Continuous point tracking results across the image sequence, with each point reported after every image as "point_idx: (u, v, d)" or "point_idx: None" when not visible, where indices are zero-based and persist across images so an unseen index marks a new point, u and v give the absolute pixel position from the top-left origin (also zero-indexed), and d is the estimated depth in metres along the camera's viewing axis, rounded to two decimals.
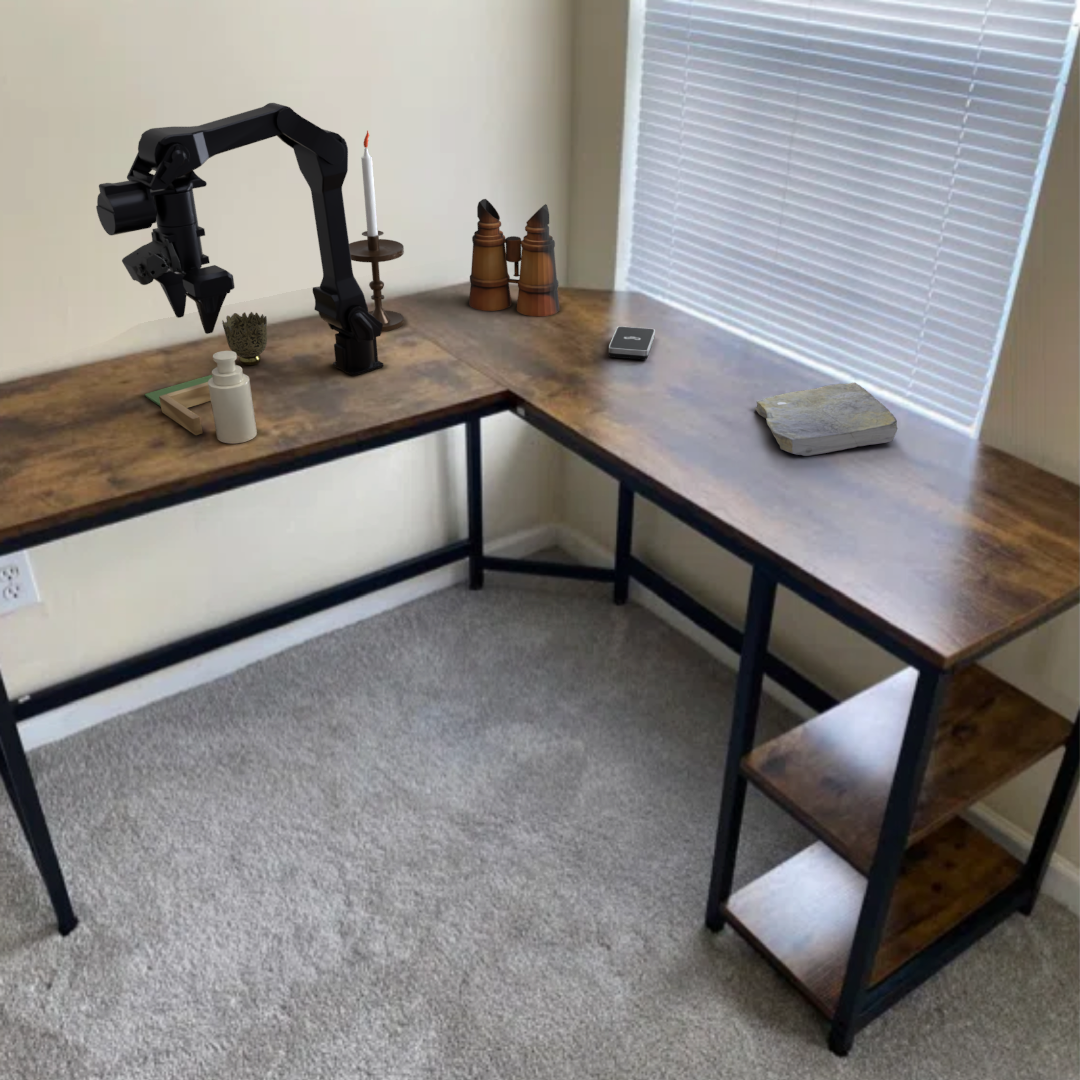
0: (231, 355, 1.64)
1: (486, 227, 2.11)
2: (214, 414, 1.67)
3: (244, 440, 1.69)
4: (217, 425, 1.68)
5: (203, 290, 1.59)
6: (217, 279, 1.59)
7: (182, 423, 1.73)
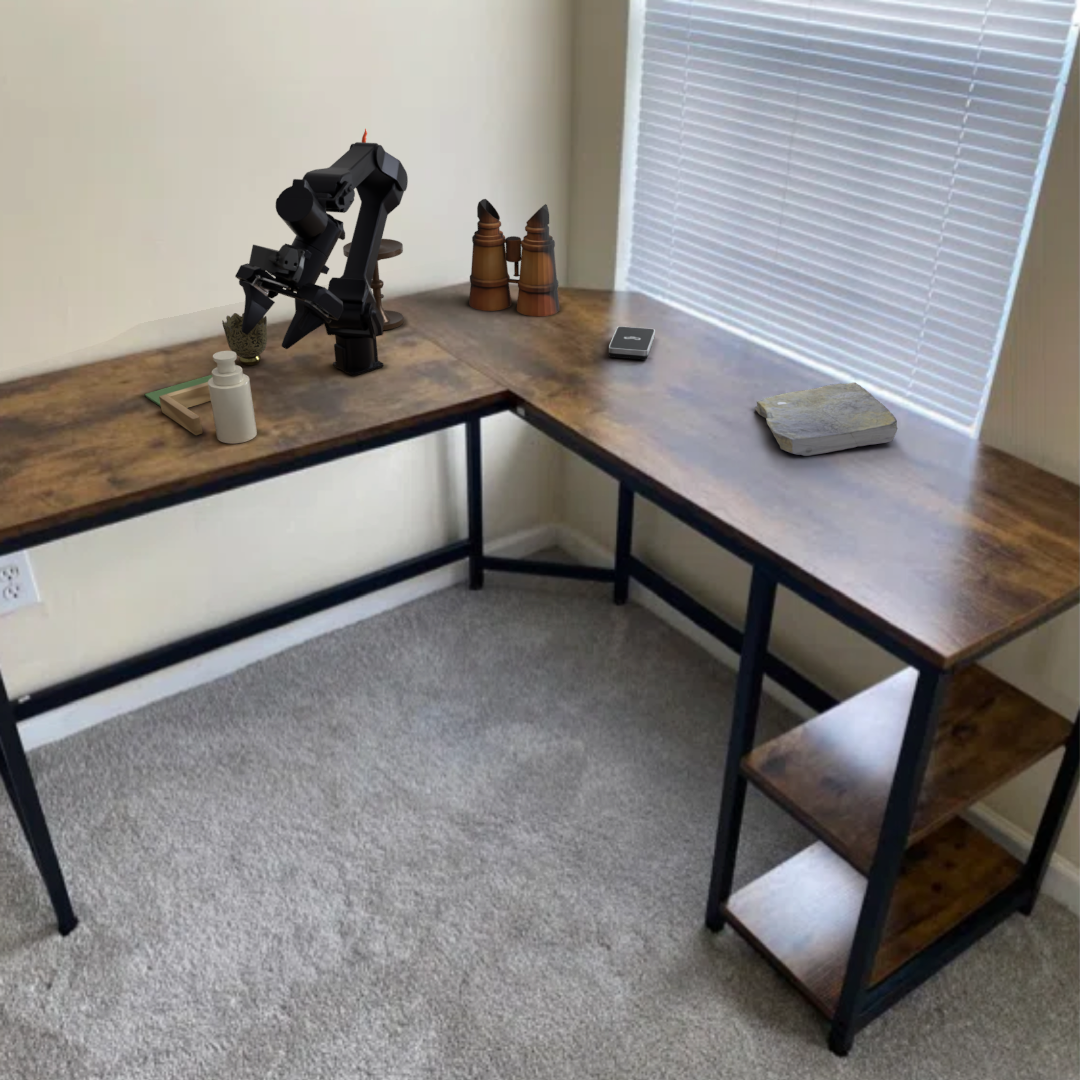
0: (231, 355, 1.64)
1: (486, 227, 2.11)
2: (214, 414, 1.67)
3: (244, 440, 1.69)
4: (217, 425, 1.68)
5: (322, 300, 1.64)
6: (335, 301, 1.66)
7: (182, 423, 1.73)
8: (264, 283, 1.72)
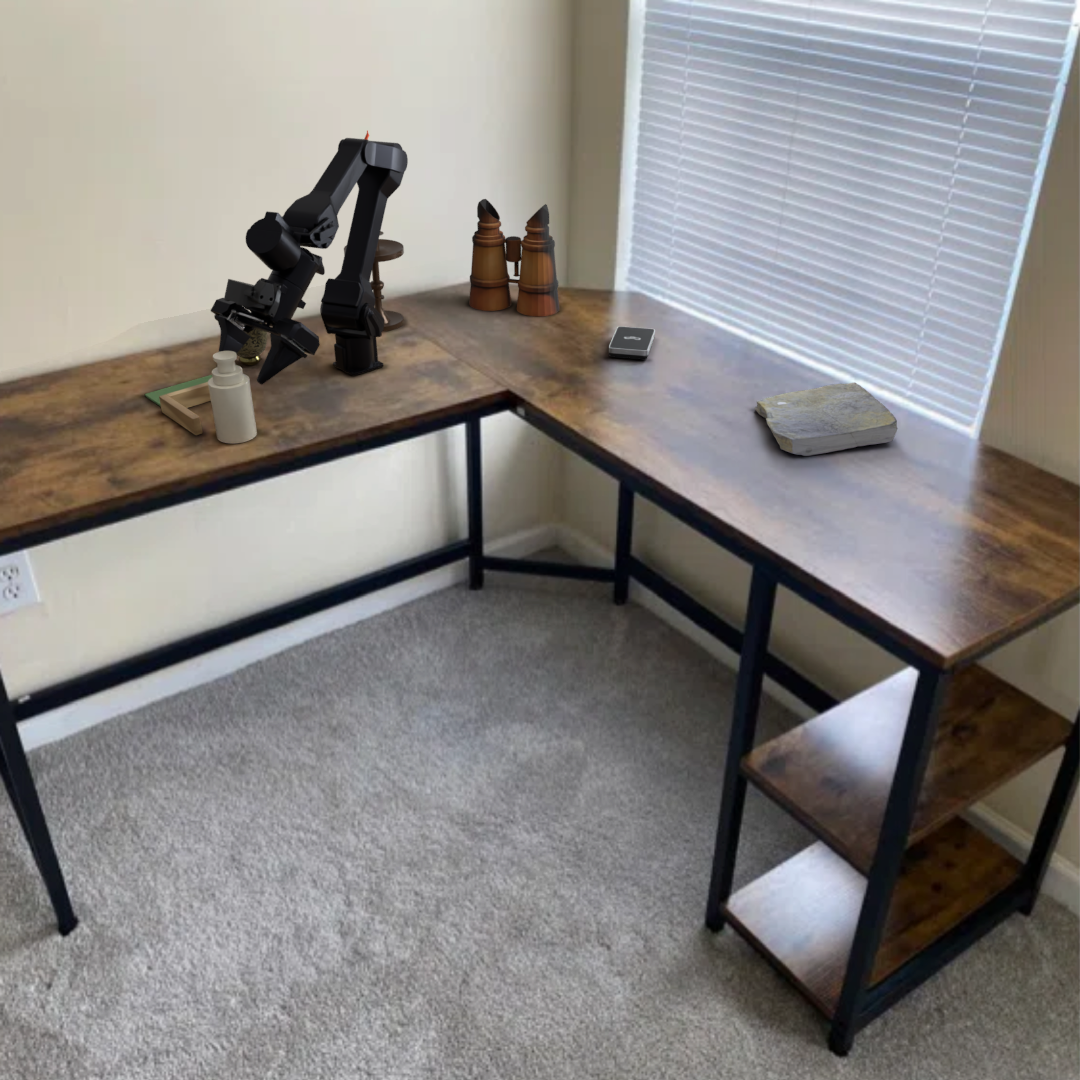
0: (231, 355, 1.64)
1: (486, 227, 2.11)
2: (214, 414, 1.67)
3: (244, 440, 1.69)
4: (217, 425, 1.68)
5: (298, 335, 1.62)
6: (311, 336, 1.64)
7: (182, 423, 1.73)
8: (240, 317, 1.71)
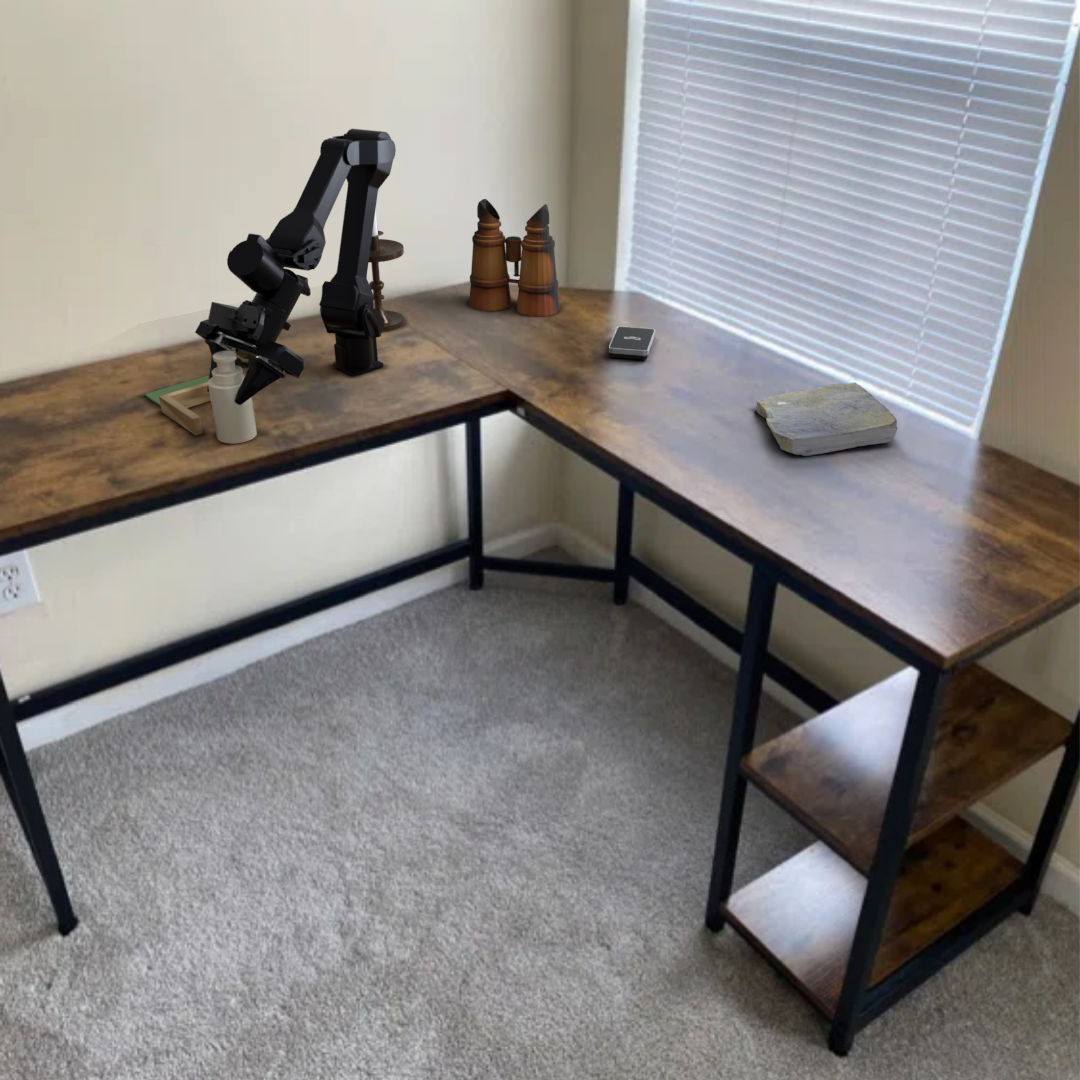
0: (231, 355, 1.64)
1: (486, 227, 2.11)
2: (214, 414, 1.67)
3: (244, 440, 1.69)
4: (217, 425, 1.68)
5: (282, 358, 1.61)
6: (295, 359, 1.63)
7: (182, 423, 1.73)
8: (231, 341, 1.69)
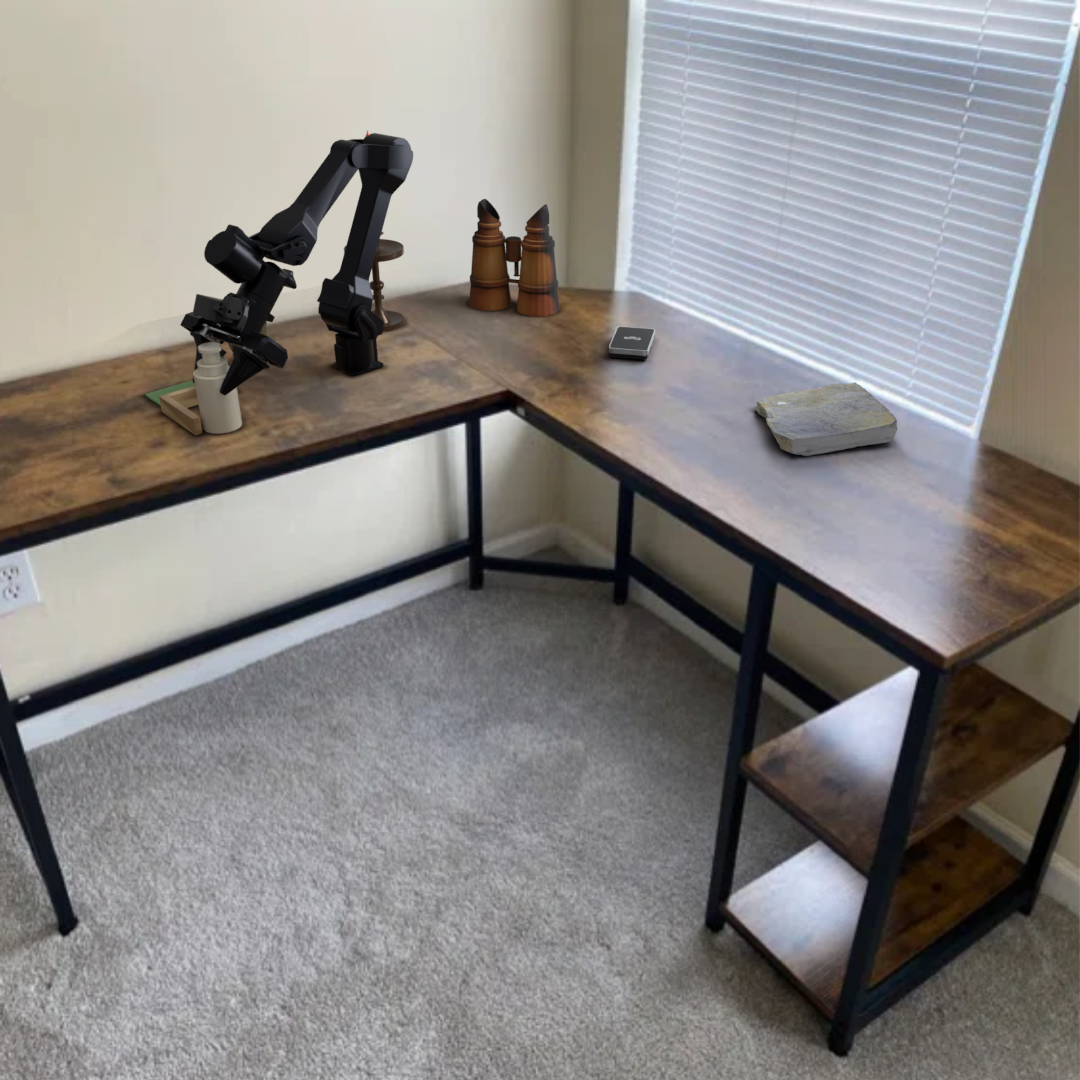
0: (216, 346, 1.67)
1: (486, 227, 2.11)
2: (200, 405, 1.70)
3: (229, 430, 1.71)
4: (203, 416, 1.70)
5: (266, 349, 1.64)
6: (279, 350, 1.66)
7: (182, 423, 1.73)
8: (215, 333, 1.72)
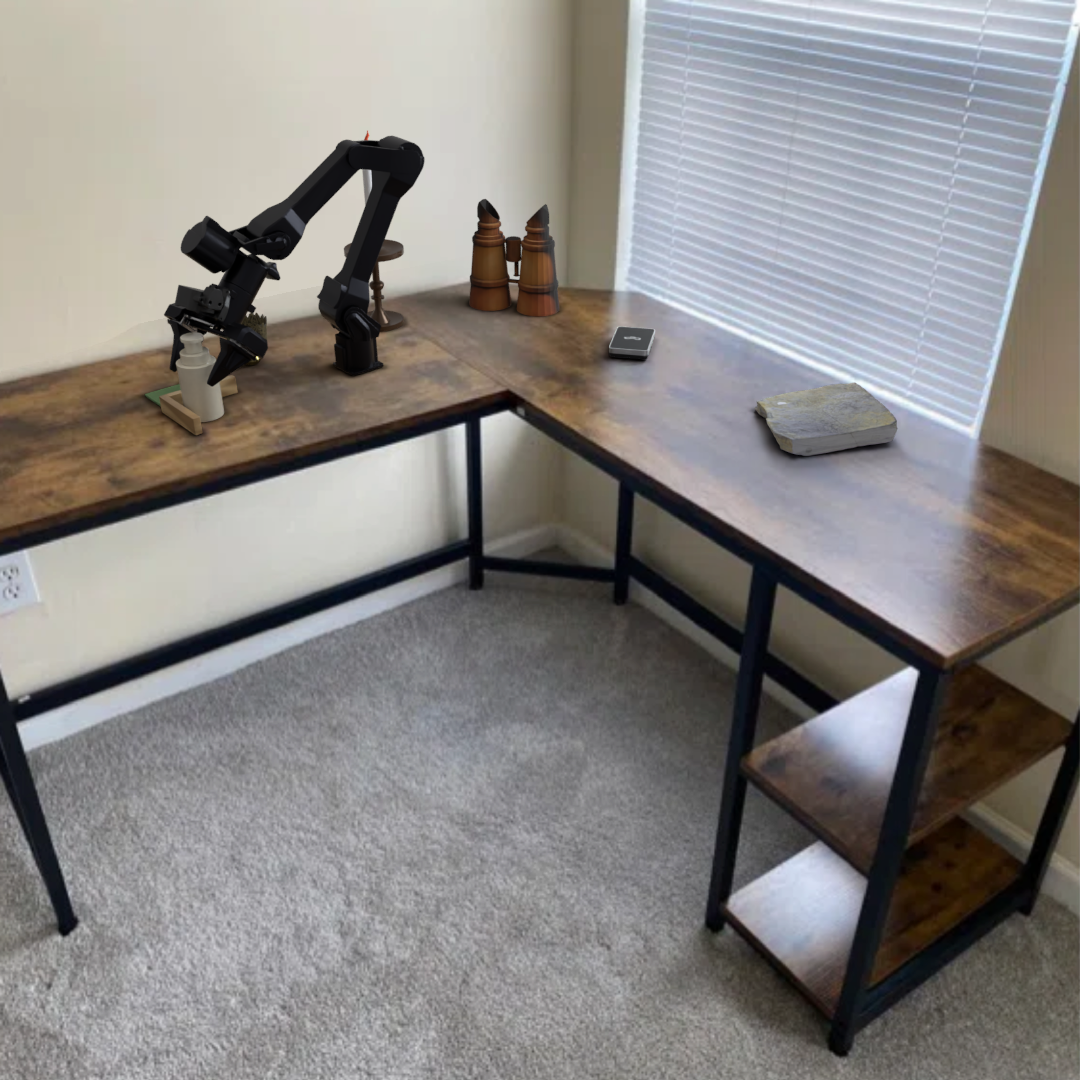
0: (198, 336, 1.70)
1: (486, 227, 2.11)
2: (182, 394, 1.73)
3: (211, 419, 1.75)
4: (186, 405, 1.74)
5: (245, 339, 1.67)
6: (259, 340, 1.69)
7: (182, 423, 1.73)
8: (192, 322, 1.76)
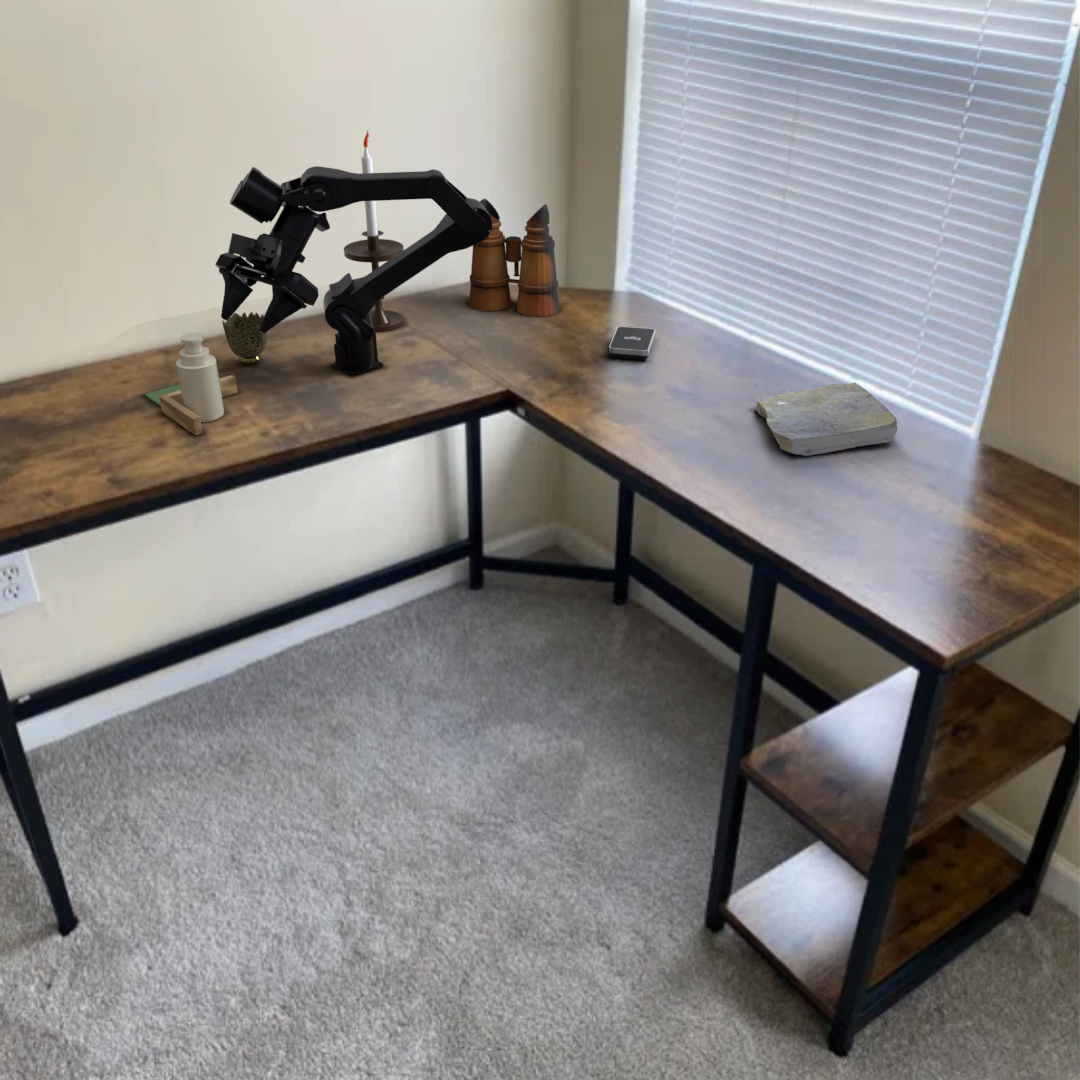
0: (198, 336, 1.70)
1: None
2: (182, 394, 1.73)
3: (211, 419, 1.75)
4: (186, 405, 1.74)
5: (298, 285, 1.72)
6: (310, 287, 1.74)
7: (182, 423, 1.73)
8: (243, 271, 1.81)
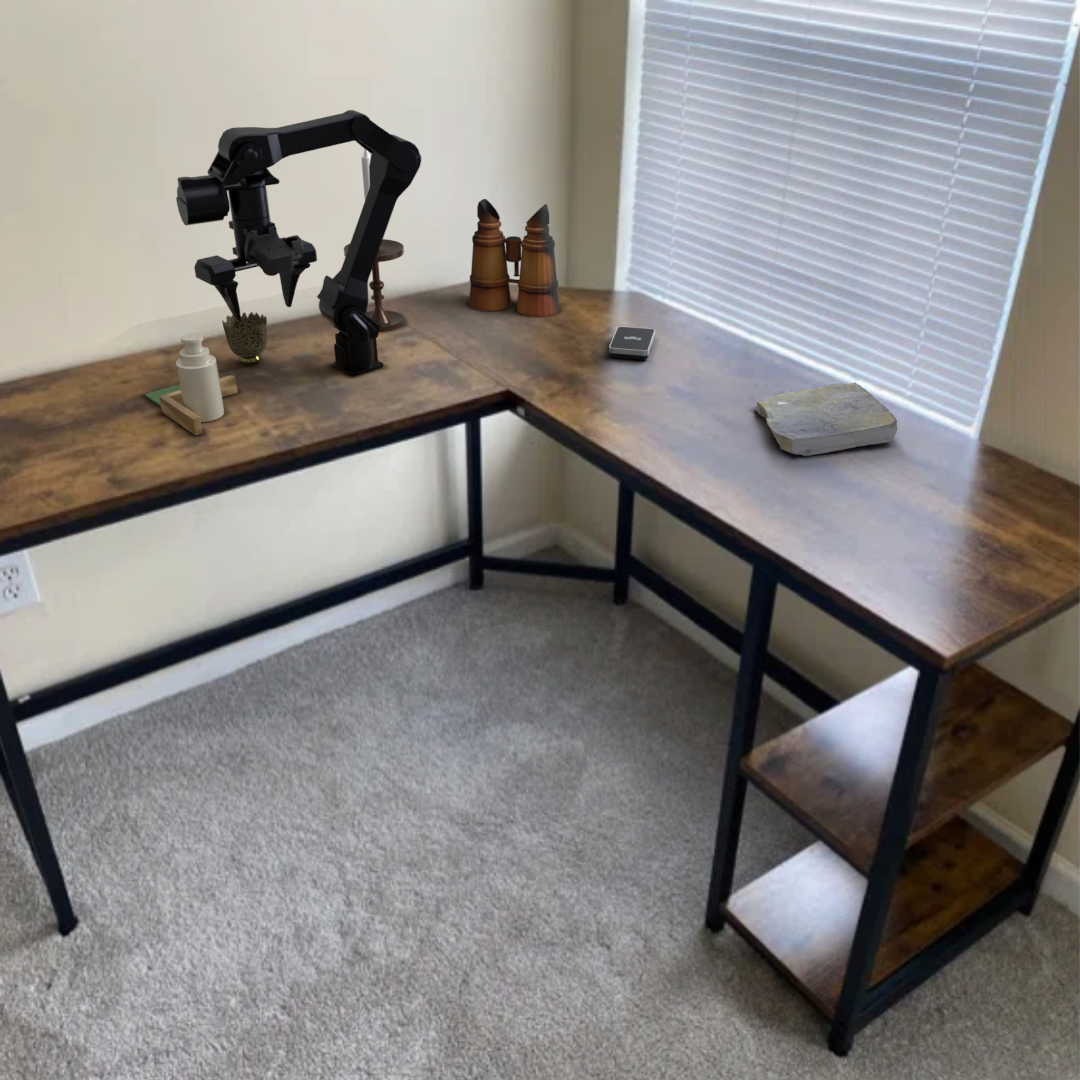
0: (198, 336, 1.70)
1: (486, 227, 2.11)
2: (182, 394, 1.73)
3: (211, 419, 1.75)
4: (186, 405, 1.74)
5: None
6: None
7: (182, 423, 1.73)
8: None
